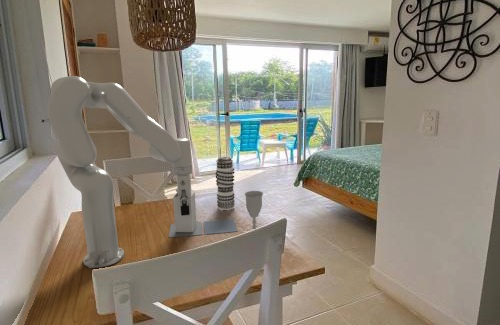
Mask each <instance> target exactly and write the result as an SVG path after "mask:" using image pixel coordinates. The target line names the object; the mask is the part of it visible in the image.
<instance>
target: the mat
mask: <svg viewBox="0 0 500 325" xmlns="http://www.w3.org/2000/svg"><path fill="white" fill-rule="evenodd" d="M203 227H204V228H203V229H204V235H216V234H225V233H226V234H227V233H237V232H238V229H237V226H236V222H235V219H234V218H229V219H228V218H227V219H218V220H215V219H213V220H204V221H203Z"/></svg>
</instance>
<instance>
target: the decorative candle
mask: <svg viewBox="0 0 500 325" xmlns="http://www.w3.org/2000/svg"><path fill="white" fill-rule="evenodd" d="M215 162H216V172H215V173H214V174H215V179H216V180H215V182H216V183H215V184H216V186H217V193H216V199H217V200H216V203H217V205H216V206H217V210H219V209H220V210H219V211H223V210H227V211H232V210H234V209H235V208H234V207H235V205H236V204H235V202H236V201H235V192H234V191H235V190H234V186H235V183H234V181H235V175H234V174H235V170H236V169H235V168H234V166H233V163H234V162H233V159H232V158H231V157H230V156H220V157H217V160H215ZM233 208H234V209H233ZM231 209H232V210H231Z"/></svg>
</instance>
